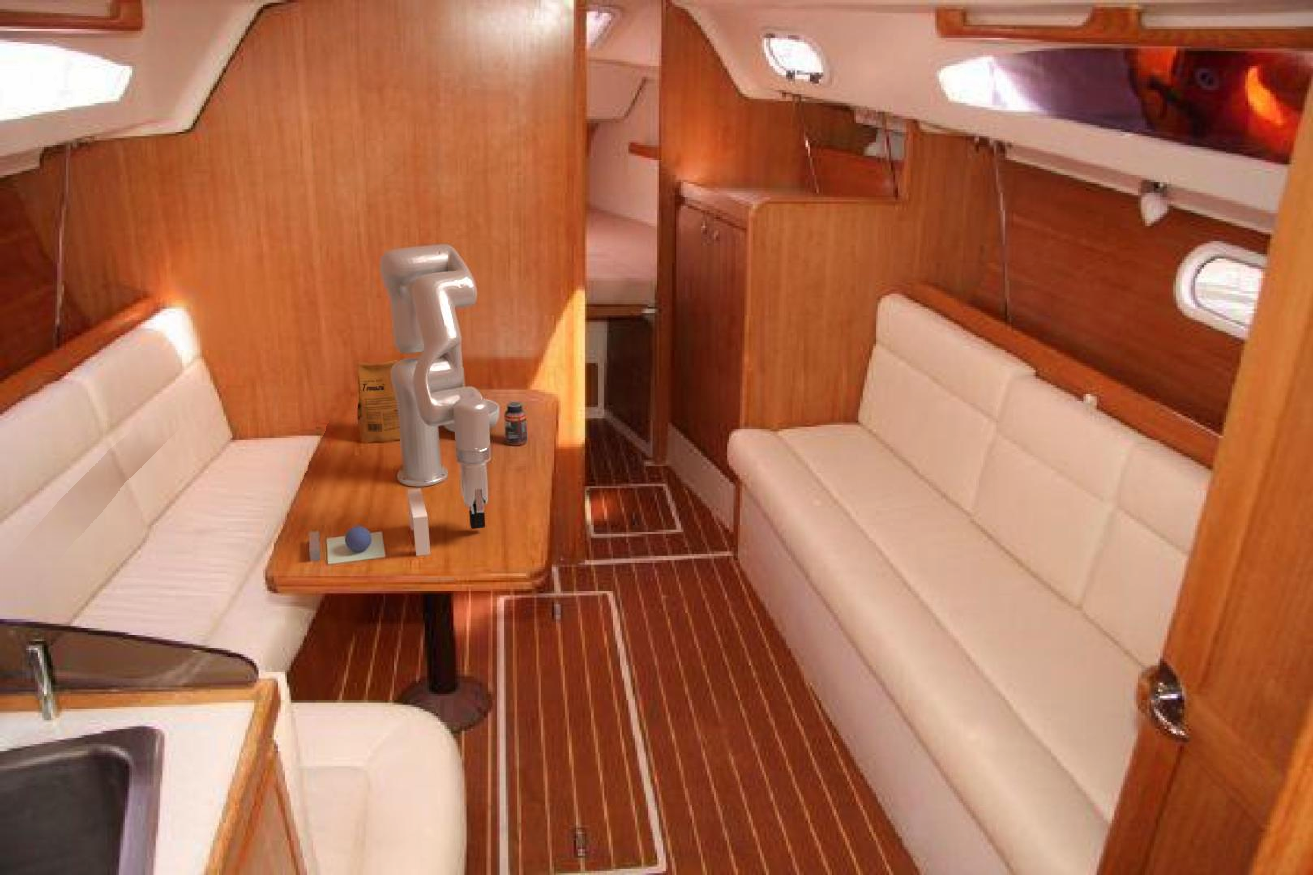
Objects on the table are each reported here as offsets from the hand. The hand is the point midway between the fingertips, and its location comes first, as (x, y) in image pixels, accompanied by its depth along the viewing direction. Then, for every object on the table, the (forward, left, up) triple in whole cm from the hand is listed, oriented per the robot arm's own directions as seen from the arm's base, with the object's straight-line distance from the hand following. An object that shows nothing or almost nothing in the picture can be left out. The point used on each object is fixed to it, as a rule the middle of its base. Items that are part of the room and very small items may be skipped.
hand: (477, 526), depth 237 cm
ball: (+1, -26, +1) cm, 26 cm away
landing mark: (0, -27, -2) cm, 27 cm away
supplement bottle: (-50, +18, -2) cm, 53 cm away
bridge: (0, -13, -2) cm, 13 cm away
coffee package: (-64, -17, -2) cm, 66 cm away
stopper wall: (-1, -35, -2) cm, 36 cm away
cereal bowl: (-62, +7, -2) cm, 62 cm away
